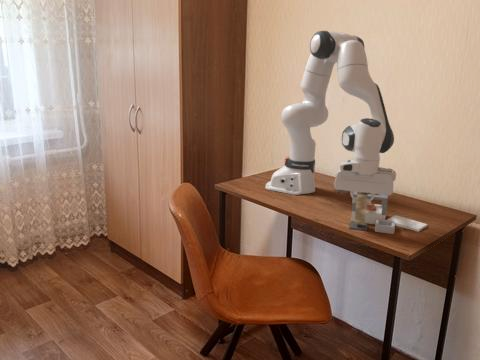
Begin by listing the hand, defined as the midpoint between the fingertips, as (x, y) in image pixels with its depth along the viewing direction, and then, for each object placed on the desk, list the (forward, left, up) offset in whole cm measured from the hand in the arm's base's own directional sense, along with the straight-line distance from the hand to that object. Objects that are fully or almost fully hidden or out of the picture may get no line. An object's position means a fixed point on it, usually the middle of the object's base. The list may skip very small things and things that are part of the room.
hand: (361, 203), depth 166 cm
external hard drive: (+17, +10, -10) cm, 22 cm away
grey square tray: (+9, +1, -9) cm, 13 cm away
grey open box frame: (+3, +11, -9) cm, 14 cm away
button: (+3, +11, -7) cm, 14 cm away
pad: (0, 0, -9) cm, 9 cm away
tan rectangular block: (0, 0, -7) cm, 7 cm away
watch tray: (-4, +47, -9) cm, 48 cm away
